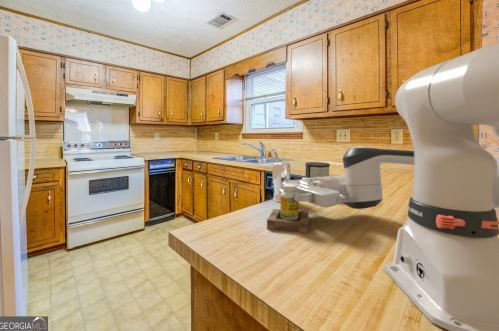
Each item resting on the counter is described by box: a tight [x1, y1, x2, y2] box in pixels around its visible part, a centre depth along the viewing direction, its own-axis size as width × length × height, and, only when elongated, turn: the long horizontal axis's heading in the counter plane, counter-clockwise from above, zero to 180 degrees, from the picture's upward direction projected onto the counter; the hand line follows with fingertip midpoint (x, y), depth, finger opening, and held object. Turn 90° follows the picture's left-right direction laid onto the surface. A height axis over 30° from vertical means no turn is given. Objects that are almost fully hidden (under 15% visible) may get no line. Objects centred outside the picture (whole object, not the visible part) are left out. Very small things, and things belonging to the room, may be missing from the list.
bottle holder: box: [266, 208, 310, 234], centre depth 73 cm, size 11×11×2 cm
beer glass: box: [272, 162, 291, 203], centre depth 100 cm, size 7×7×15 cm
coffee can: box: [305, 161, 331, 178], centre depth 110 cm, size 10×10×14 cm
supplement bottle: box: [279, 184, 300, 220], centre depth 73 cm, size 5×5×10 cm
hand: (287, 195), depth 72 cm, fingers closed on supplement bottle, 5 cm apart
